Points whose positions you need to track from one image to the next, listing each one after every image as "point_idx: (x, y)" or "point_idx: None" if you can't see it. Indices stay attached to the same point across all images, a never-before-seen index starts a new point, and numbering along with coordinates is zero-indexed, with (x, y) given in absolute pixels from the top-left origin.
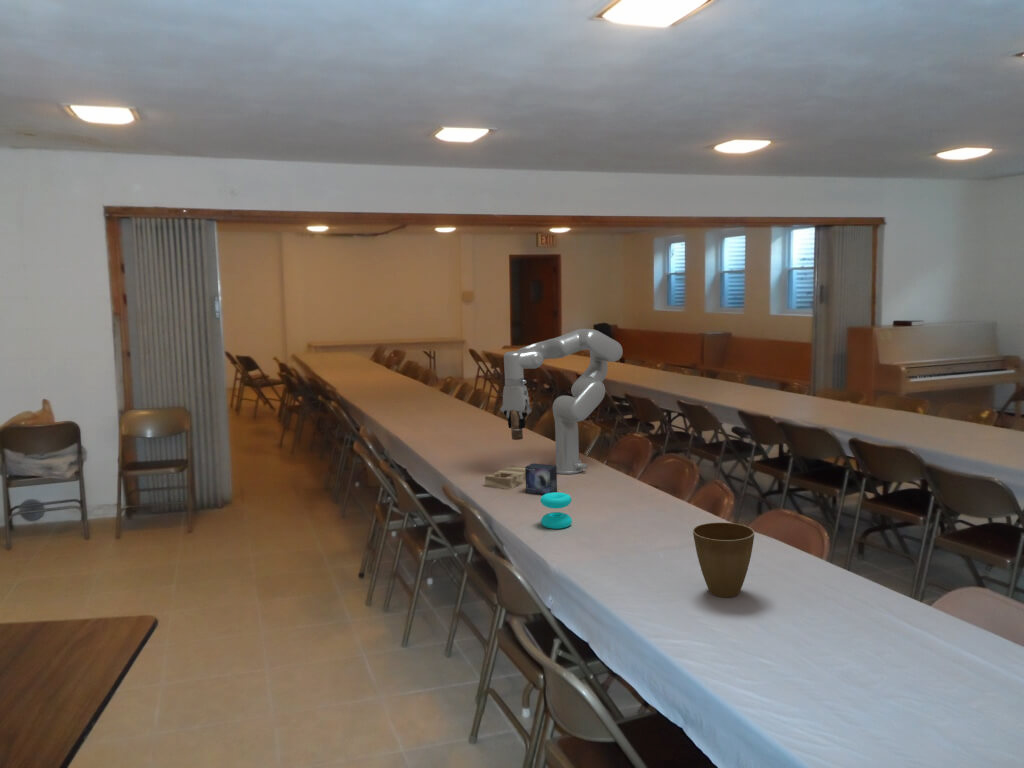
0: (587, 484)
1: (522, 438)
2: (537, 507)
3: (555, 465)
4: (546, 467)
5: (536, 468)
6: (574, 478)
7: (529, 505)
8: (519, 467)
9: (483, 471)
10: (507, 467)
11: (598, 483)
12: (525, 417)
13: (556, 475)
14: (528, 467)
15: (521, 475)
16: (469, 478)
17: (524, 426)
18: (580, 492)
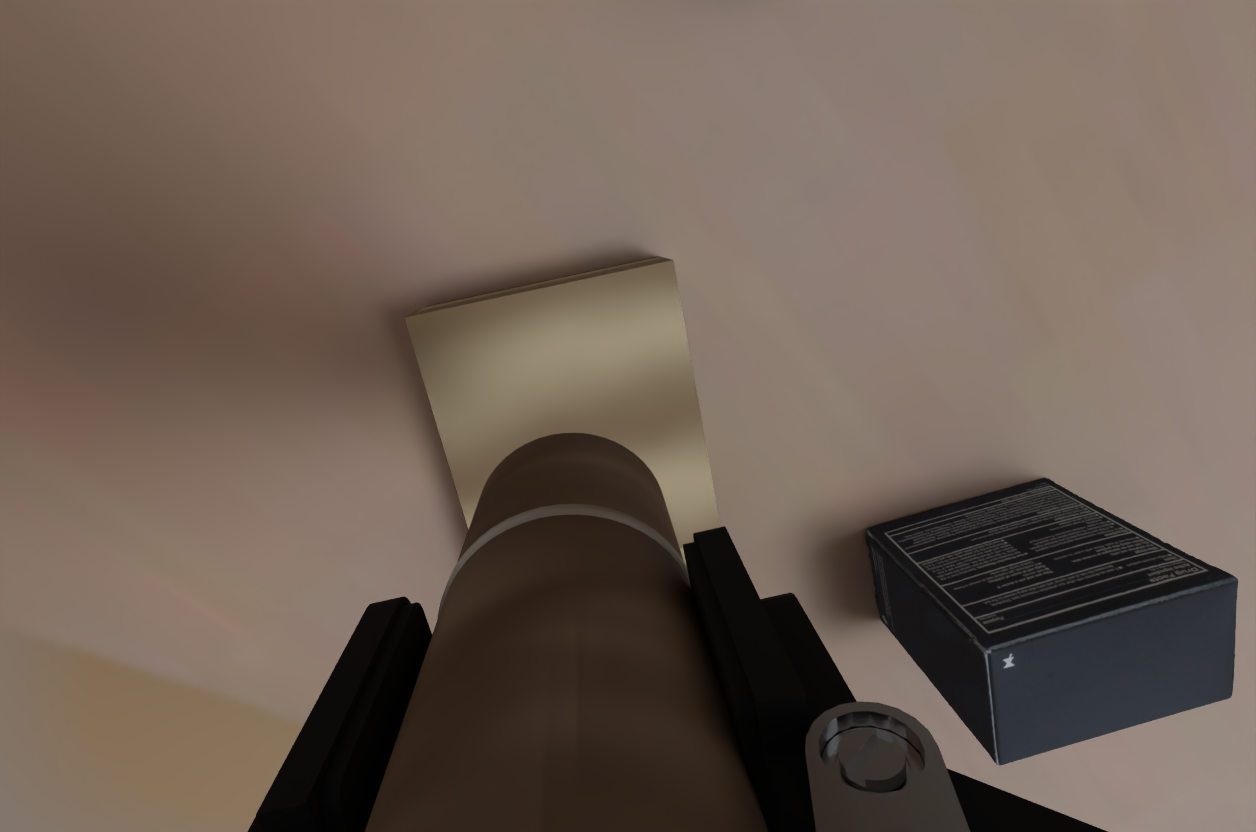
0: (1148, 161)
1: (658, 485)
2: (1101, 768)
3: (1232, 589)
4: (1186, 684)
5: (1102, 732)
6: (960, 50)
7: (1043, 770)
8: (524, 326)
9: (100, 354)
10: (428, 395)
11: (1216, 75)
12: (905, 744)
13: (1152, 539)
14: (1028, 756)
15: (713, 494)
16: (236, 589)
17: (729, 548)
18: (1192, 385)
